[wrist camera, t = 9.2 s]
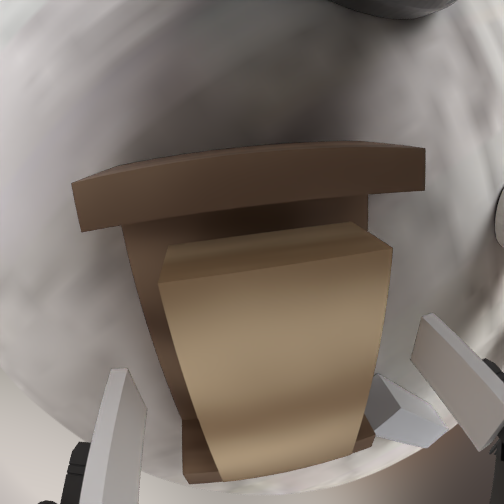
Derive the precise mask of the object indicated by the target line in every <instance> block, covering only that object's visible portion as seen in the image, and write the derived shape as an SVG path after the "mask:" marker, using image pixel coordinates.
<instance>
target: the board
mask: <svg viewBox="0 0 504 504" xmlns="http://www.w3.org/2000/svg"><path fill="white" fill-rule="evenodd" d="M392 253H393V248H392V247H390V246H389V245H387V244H386V243H384V242H383V241H381V240H380V239H378V238H377V237H375V236H374V235H372V234H370V233H369V232H367V231H366V230H364V229H363V228H361V227H359V226H358V225H356V224H355V223H353V222H345V223H337V224H328V225H320V226H312V227H304V228H296V229H288V230H281V231H273V232H265V233H258V234H250V235H243V236H235V237H228V238H221V239H213V240H206V241H199V242H192V243H185V244H178V245H171V246H168V249H167V252H166V255H165V259H164V263H163V266H162V270H161V273H160V277H159V281H158V286H159V290H160V294H161V298H162V302H163V306H164V310H165V314H166V318H167V321H168V325H169V329H170V332H171V336H172V339H173V343H174V346H175V350H176V353H177V356H178V360H179V363H180V366H181V369H182V373H183V376H184V379H185V382H186V385H187V388H188V391H189V394H190V397H191V400H192V403H193V406H194V409H195V411H196V414H197V417H198V420H199V422H200V425H201V428H202V431H203V433H204V436H205V439H206V441H207V444H208V446H209V449H210V451H211V454H212V456H213V459H214V461H215V464H216V466H217V468H218V471H219V473H220V476H221V478H222V480H223V482H228V481H236V480H244V479H250V478H257V477H263V476H268V475H274V474H279V473H284V472H288V471H293V470H297V469H301V468H306V467H310V466H313V465H317V464H321V463H325V462H328V461H332V460H335V459H338V458H341V457H345V456H348V455H351V454H352V451H353V448H354V445H355V442H356V439H357V435H358V432H359V429H360V425H361V422H362V418H363V415H364V411H365V407H366V404H367V400H368V396H369V392H370V388H371V384H372V379H373V375H374V370H375V366H376V361H377V356H378V351H379V346H380V341H381V335H382V330H383V324H384V318H385V311H386V305H387V298H388V290H389V282H390V273H391V264H392Z"/></svg>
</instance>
